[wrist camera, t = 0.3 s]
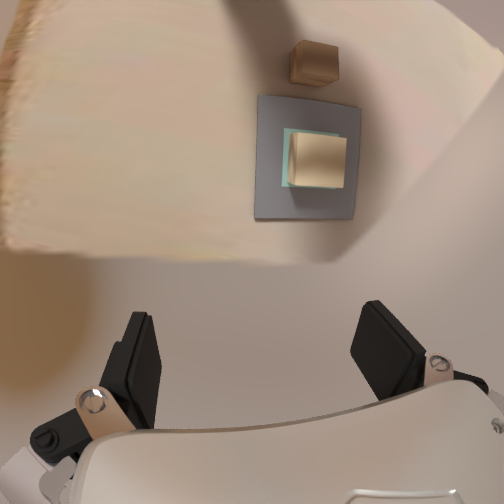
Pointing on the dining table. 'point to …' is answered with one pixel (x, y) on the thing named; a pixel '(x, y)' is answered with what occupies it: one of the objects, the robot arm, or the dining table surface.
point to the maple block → (316, 160)
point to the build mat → (276, 158)
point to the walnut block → (314, 64)
